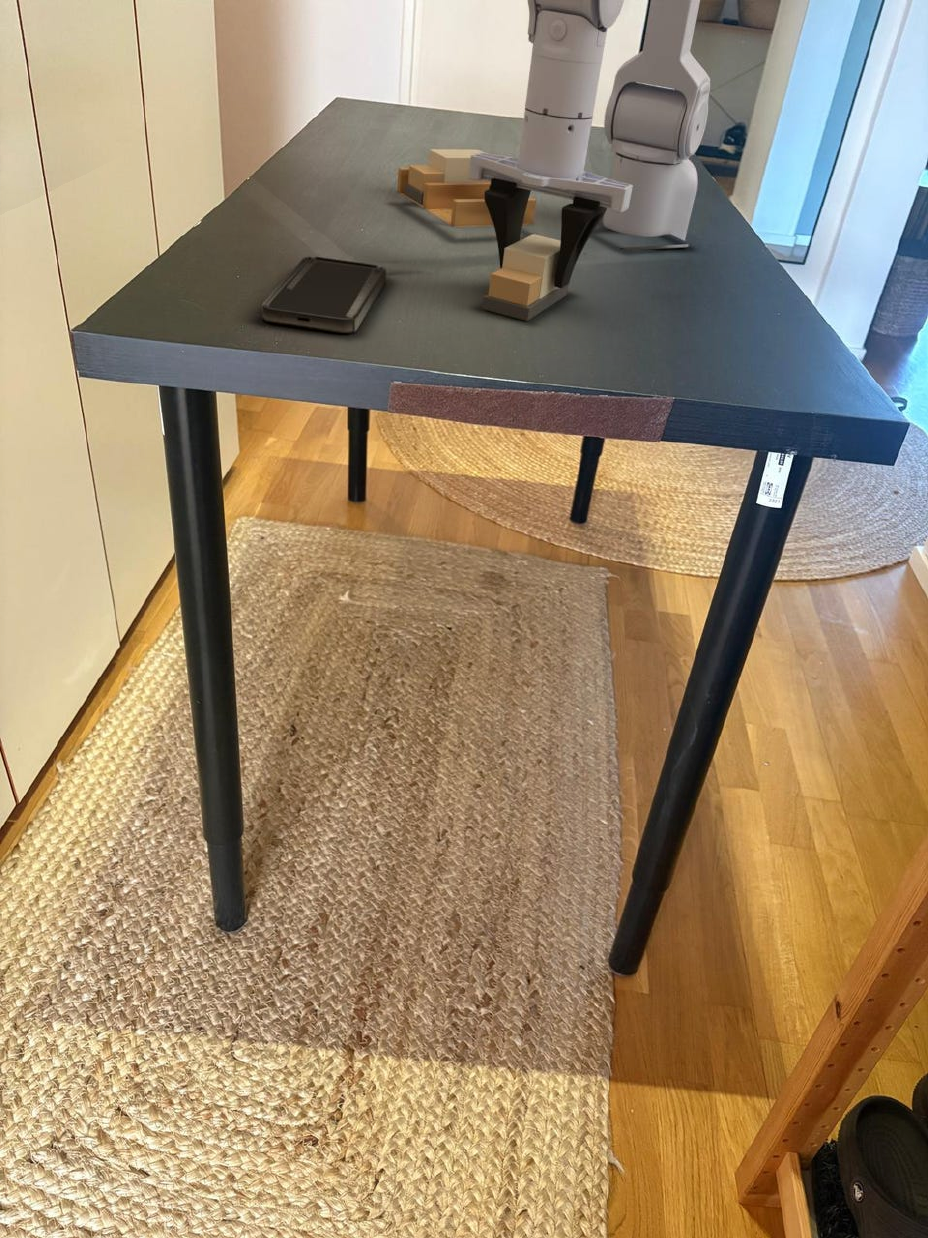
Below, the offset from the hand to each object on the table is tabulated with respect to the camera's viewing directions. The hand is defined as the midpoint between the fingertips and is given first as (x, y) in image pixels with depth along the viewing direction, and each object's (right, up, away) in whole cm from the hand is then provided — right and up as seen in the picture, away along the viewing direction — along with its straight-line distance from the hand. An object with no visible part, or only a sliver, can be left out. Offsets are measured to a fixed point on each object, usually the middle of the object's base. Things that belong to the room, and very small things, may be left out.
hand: (534, 277), depth 84 cm
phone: (-18, -4, -5) cm, 19 cm away
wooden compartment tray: (-7, +14, +21) cm, 26 cm away
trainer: (-1, -2, 0) cm, 2 cm away
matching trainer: (-8, +17, +22) cm, 29 cm away
